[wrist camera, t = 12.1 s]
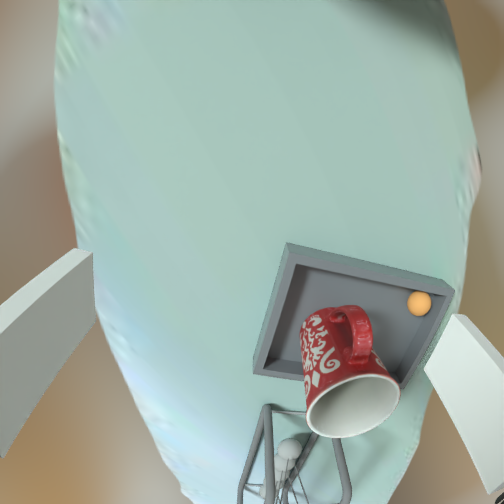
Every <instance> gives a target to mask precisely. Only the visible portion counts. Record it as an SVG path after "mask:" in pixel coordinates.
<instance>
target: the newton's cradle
mask: <svg viewBox="0 0 504 504" xmlns="http://www.w3.org/2000/svg"><path fill="white" fill-rule="evenodd" d="M272 413H284V414H300V415H306V412H290V411H277V410H272V409H271V406H270V405H268V404H265V405H264V406H263V407H262V410H261V413H260V417H259V420H258V424H257V427H256V431H255V434H254V437H253V441H252V444H251V447H250V451H249V454H248V457H247V460H246V464H245V467H244V470H243V473H242V476H241V479H240V482H239V486H238V495H237V504H243V489H244V486H258V487H260V490H259V493H260V495H261V497H263V498H264V499H265V501H264V504H274V502H275V498H276V497H277V499H276V504H277V500H278V499H279V496H278V495H279V489H281V488H283V489H282V495H281V500H279V503H280V504H281V501H282V500H283V504H289V503H288V489H289V487H290V485H291V487H292V482H293V480H294V478H295V477H296V475H297V474H298V472H299V470H300V468H301V466H302V465H303V463H304V461H305V459H306V457H307V456H308V454H309V452H310V450H311V448H312V446H313V444H314V442H315V441H316V439H317V437H318V435H319V434H317V433H315V432H312V434H311V436H310V438H309V440H308V442H307V444H306V446H305V448H304V450H303V452H302V454H301V451H302V446H301V444H300V442H299V441H297V440H296V439H293V438H288V439H284V440H283V441H281V442H280V444H279V445H278V449H277V450H278V453H277V454H276V455H275V456H274V444H273V425H272ZM263 429H264V439H265V478H264V484H263V485H253V484H245V482H246V479H247V476H248V473H249V471H250V468H251V465H252V462H253V459H254V456H255V453H256V450H257V447H258V444H259V441H260V438H261V435H262V432H263ZM332 442H333V446H334V451H335V456H336V460H337V465H338V470H339V474H340V479H341V484H342V489H343V496H342V500H341V502H340V503H338V504H349V503H350V501H351V497H352V486H351V482H350V478H349V473H348V469H347V465H346V460H345V456H344V452H343V448H342V444H341V440H340V438H332ZM300 454H301V456H300ZM299 456H300V458H299V460H298V462H297V464H296V465H295V459H296V458H298V457H299ZM294 465H295V467H294ZM293 467H294V469H293V471H292V473H291V475H290V476H289V474H290V470H291V469H292V468H293ZM298 477H299V474H298ZM287 478H288V480H287V482H286V484H285V480H286V479H287ZM299 480H300V477H299ZM300 483H301V486H302V489H303V491H304V488H303V485H302V482H301V480H300ZM292 490H293V487H292ZM293 493H294V490H293ZM304 494H305V491H304ZM294 496H295V493H294ZM305 497H306V494H305ZM295 499H296V496H295ZM306 500H307V503H308V504H309V502H308V499H307V497H306ZM296 502H297V499H296ZM297 504H298V502H297Z"/></svg>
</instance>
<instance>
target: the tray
mask: <svg viewBox="0 0 504 504" xmlns="http://www.w3.org/2000/svg"><path fill="white" fill-rule="evenodd" d="M417 290H420V291H424V292H426V293H428V294H429V296H430V298H431V307H430V310H429V311H428V312H427V313H426V314H425V315H422V316H415V315H413V314H412V313H411V312H410V311H409V310H408V307H407V301H408V298H409V296H410V295H411V294H412V293H413V292H415V291H417ZM454 292H455V290H454V289H453V288H452V287H451V286H450V285H448V284H447V283H446V282H445V281H444V280H441V279H437V278H433V277H429V276H425V275H421V274H417V273H413V272H409V271H405V270H401V269H397V268H393V267H389V266H385V265H380V264H376V263H372V262H368V261H364V260H359V259H355V258H351V257H347V256H343V255H338V254H334V253H330V252H325V251H321V250H317V249H313V248H308V247H304V246H300V245H295V244H291V243H286V244H285V248H284V252H283V255H282V259H281V263H280V266H279V270H278V273H277V277H276V280H275V284H274V288H273V291H272V295H271V298H270V302H269V305H268V309H267V312H266V315H265V319H264V322H263V326H262V329H261V332H260V336H259V339H258V343H257V346H256V349H255V353H254V356H253V374H257V375H263V376H269V377H276V378H283V379H290V380H297V381H304V373H303V366H302V356H301V347H300V337H299V334H300V329H301V326H302V324H303V323H304V321H305V320H306V319H307V318H308V317H309V316H310V315H311V314H313V313H314V312H316V311H318V310H320V309H323V308H328V307H340V306H344V305H357V306H359V307H361V308H362V309H363V310H364V311H365V312H366V314H367V315H368V317H369V320H370V322H371V325H372V331H373V346H372V348H373V349H374V351H375V352H376V354H377V355H378V357H379V358H380V360H381V361H382V363H383V365H384V366H385V368H386V369H387V371H388V373H389V374H390V376H391V377H392V378H393V379H394V380H395V381H396V382H397V383H398V385H399V387H400V389H404V388H405V386H406V384H407V383H408V381H409V379H410V378H411V376H412V374H413V373H414V371H415V369H416V368H417V366H418V364H419V362H420V361H421V359H422V357H423V355H424V353H425V352H426V350H427V348H428V346H429V344H430V342H431V340H432V338H433V337H434V335H435V333H436V331H437V329H438V327H439V325H440V323H441V321H442V318H443V316H444V314H445V312H446V310H447V308H448V306H449V303H450V301H451V299H452V297H453V294H454Z"/></svg>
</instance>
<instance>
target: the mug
mask: <svg viewBox="0 0 504 504" xmlns="http://www.w3.org/2000/svg"><path fill="white" fill-rule="evenodd" d="M299 337H300V347H301V356H302V366H303V373H304V383H305V394H306V404H307V411H306V421H307V424H308V426H309V427H310V429H311V430H312V431H313V432H315V433H317V434H319V435H321V436H325V437H330V438H346V437H352V436H356V435H359V434H362V433H365V432H367V431H369V430H371V429H373V428H375V427H377V426H378V425H380V424H381V423H382V422H384V421H385V420H386V419H387V418H388V417H389V416H390V415H391V414H392V413H393V411H394V410H395V409H396V407H397V405H398V403H399V400H400V394H401V392H400V387H399V385H398V383H397V382H396V381H395V380H394V379H393V378H392V377H391V376H390V374H389V373H388V371H387V369H386V368H385V366H384V365H383V363H382V361H381V360H380V358H379V357H378V355H377V354H376V352H375V351H374V349H373V348H372V346H373V331H372V325H371V322H370V320H369V317H368V315H367V314H366V312H365V311H364V310H363V309H362V308H361V307H359V306H357V305H344V306H340V307H328V308H323V309H320V310H318V311H316V312H314V313H313V314H311V315H310V316H309V317H308V318H307V319H306V320H305V321H304V323H303V324H302V326H301V329H300V334H299Z"/></svg>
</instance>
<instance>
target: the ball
mask: <svg viewBox="0 0 504 504" xmlns="http://www.w3.org/2000/svg"><path fill="white" fill-rule="evenodd" d="M407 307H408V310H409V311H410V312H411V313H412V314H413V315H415V316H422V315H425V314H426V313H427V312H428V311H429V310H430V307H431V298H430V296H429V294H428V293H426V292H424V291H420V290H417V291H415V292H413V293H412V294H411V295H410V296H409V298H408V301H407Z"/></svg>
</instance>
